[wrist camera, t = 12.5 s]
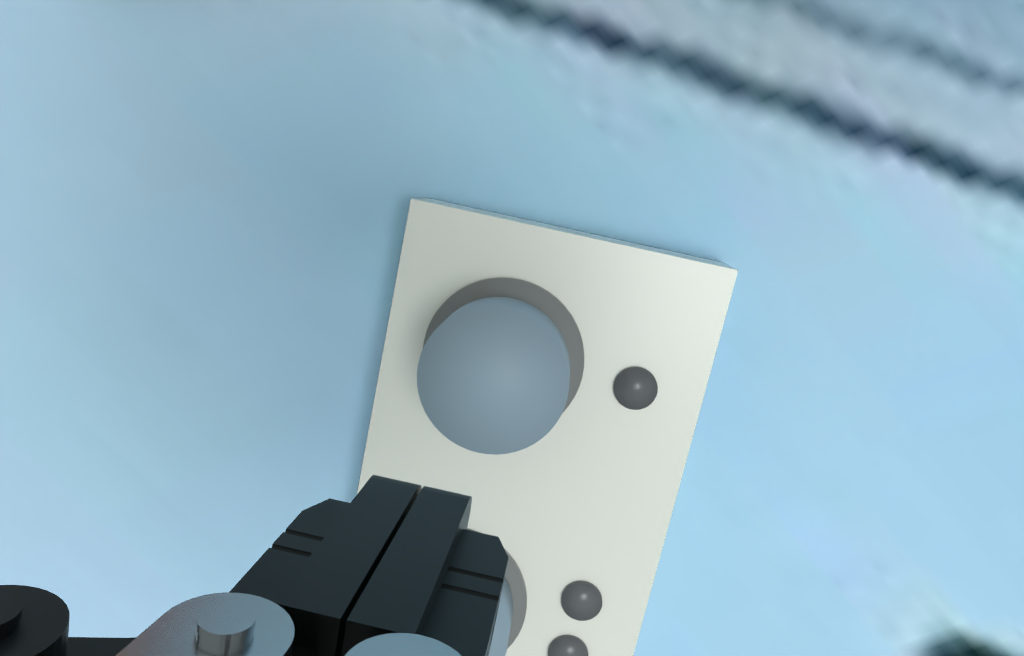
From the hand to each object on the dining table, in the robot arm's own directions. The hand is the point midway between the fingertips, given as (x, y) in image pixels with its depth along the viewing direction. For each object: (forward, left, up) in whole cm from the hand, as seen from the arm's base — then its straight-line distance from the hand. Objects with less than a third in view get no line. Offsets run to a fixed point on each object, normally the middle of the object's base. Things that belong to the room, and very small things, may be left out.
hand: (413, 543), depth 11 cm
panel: (-1, +11, -20) cm, 23 cm away
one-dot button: (0, +1, -15) cm, 15 cm away
